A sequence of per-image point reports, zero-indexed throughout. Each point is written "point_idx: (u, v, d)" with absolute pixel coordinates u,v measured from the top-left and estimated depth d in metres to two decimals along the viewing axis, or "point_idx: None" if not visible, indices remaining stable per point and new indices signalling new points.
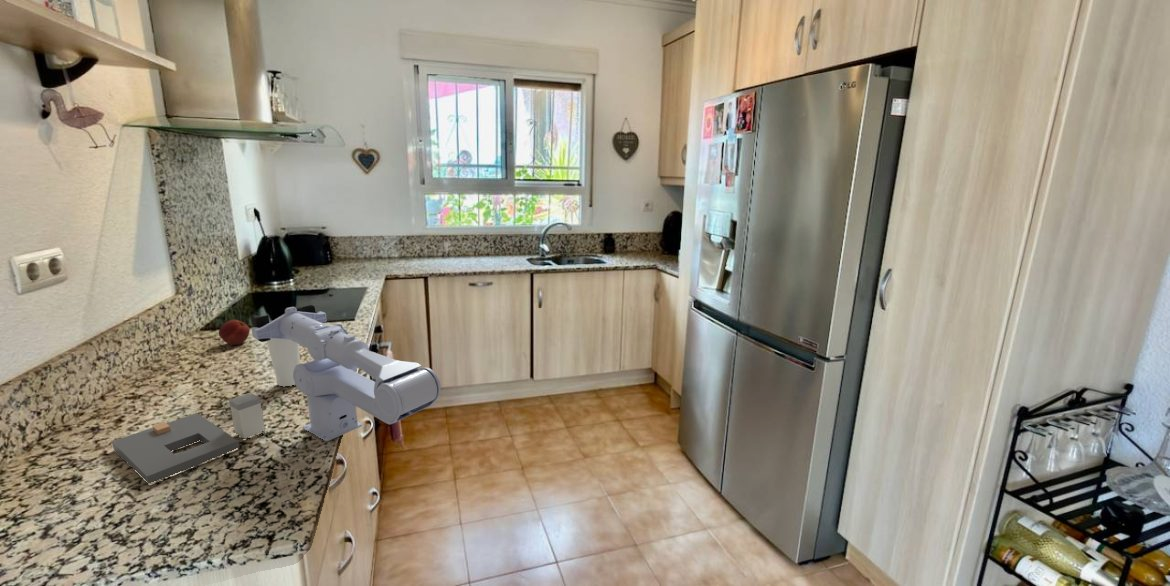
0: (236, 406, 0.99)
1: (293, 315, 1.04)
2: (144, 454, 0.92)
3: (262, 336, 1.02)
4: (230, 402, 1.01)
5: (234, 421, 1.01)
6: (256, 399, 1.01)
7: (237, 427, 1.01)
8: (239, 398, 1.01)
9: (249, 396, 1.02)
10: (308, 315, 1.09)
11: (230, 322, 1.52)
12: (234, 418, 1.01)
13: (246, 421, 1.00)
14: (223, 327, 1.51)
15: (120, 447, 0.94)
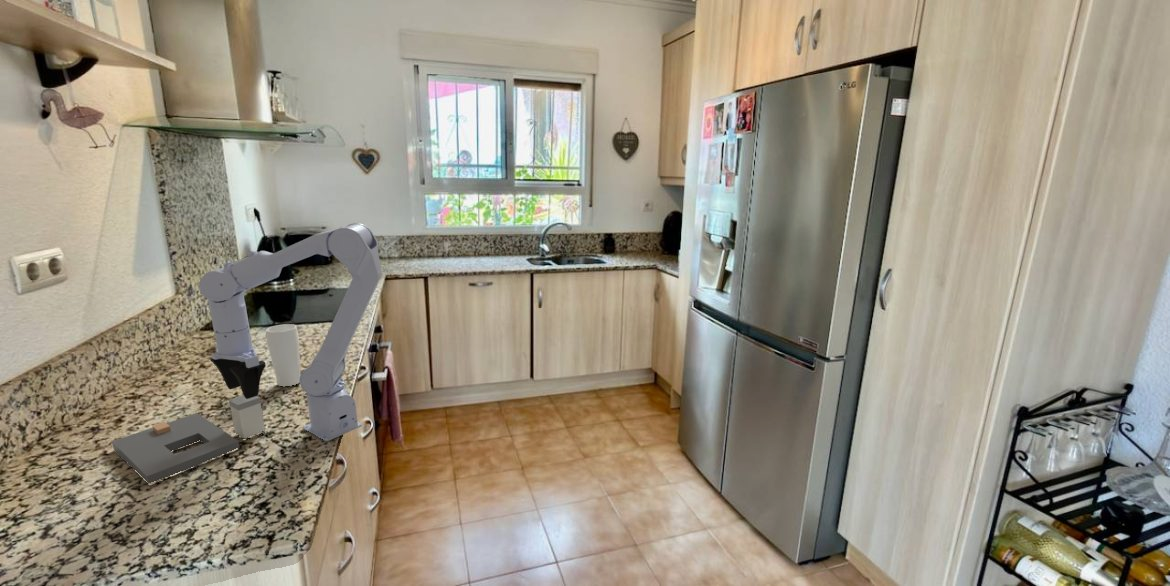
0: (236, 406, 0.99)
1: (218, 347, 0.96)
2: (144, 454, 0.92)
3: (254, 356, 0.96)
4: (230, 402, 1.01)
5: (234, 421, 1.01)
6: (256, 399, 1.01)
7: (237, 427, 1.01)
8: (239, 398, 1.01)
9: None
10: None
11: None
12: (234, 418, 1.01)
13: (246, 421, 1.00)
14: None
15: (120, 447, 0.94)
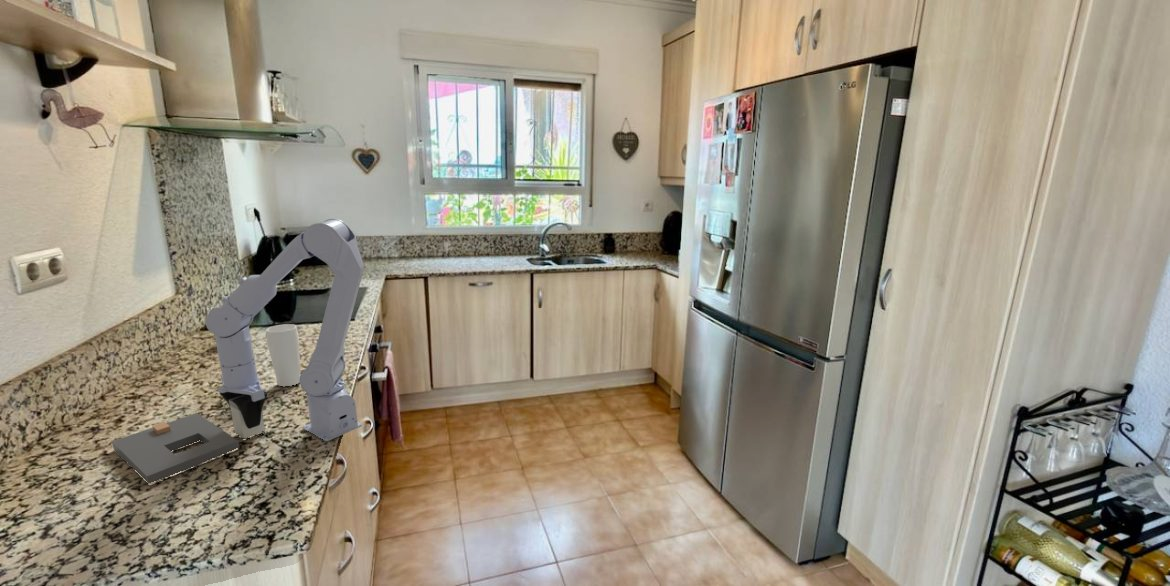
0: (236, 406, 0.99)
1: (225, 380, 0.98)
2: (144, 454, 0.92)
3: (259, 389, 0.98)
4: (230, 402, 1.01)
5: (234, 421, 1.01)
6: None
7: (237, 426, 1.01)
8: None
9: None
10: None
11: None
12: (234, 418, 1.01)
13: None
14: None
15: (120, 447, 0.94)
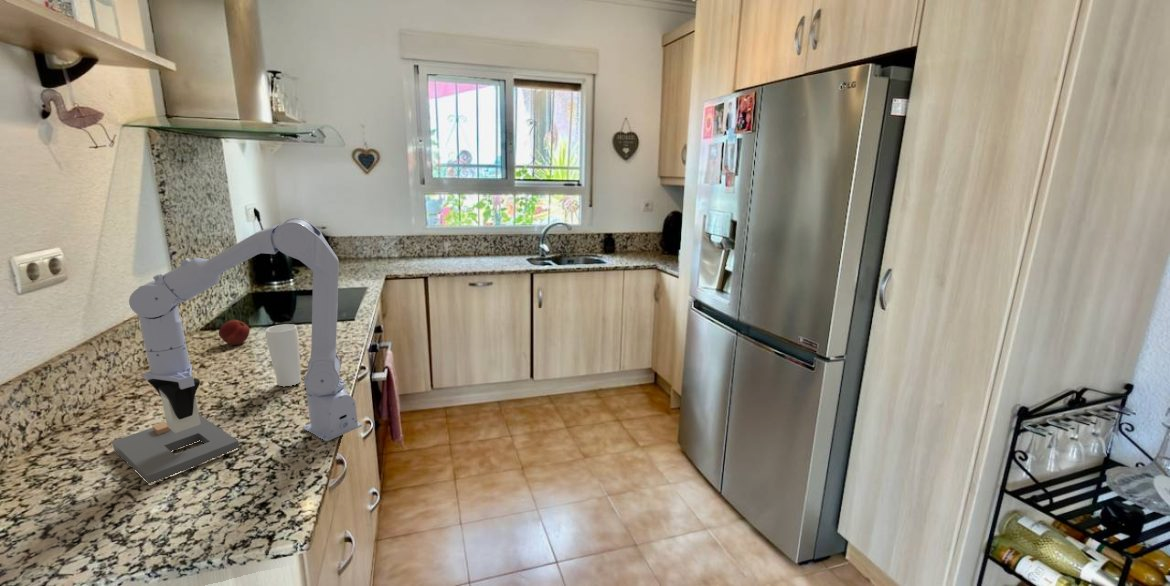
0: (165, 395, 0.91)
1: (151, 366, 0.89)
2: (144, 454, 0.92)
3: (189, 376, 0.89)
4: (160, 391, 0.92)
5: (165, 411, 0.93)
6: None
7: (168, 417, 0.93)
8: None
9: None
10: None
11: (230, 322, 1.52)
12: (165, 408, 0.93)
13: None
14: (223, 327, 1.51)
15: (120, 447, 0.94)
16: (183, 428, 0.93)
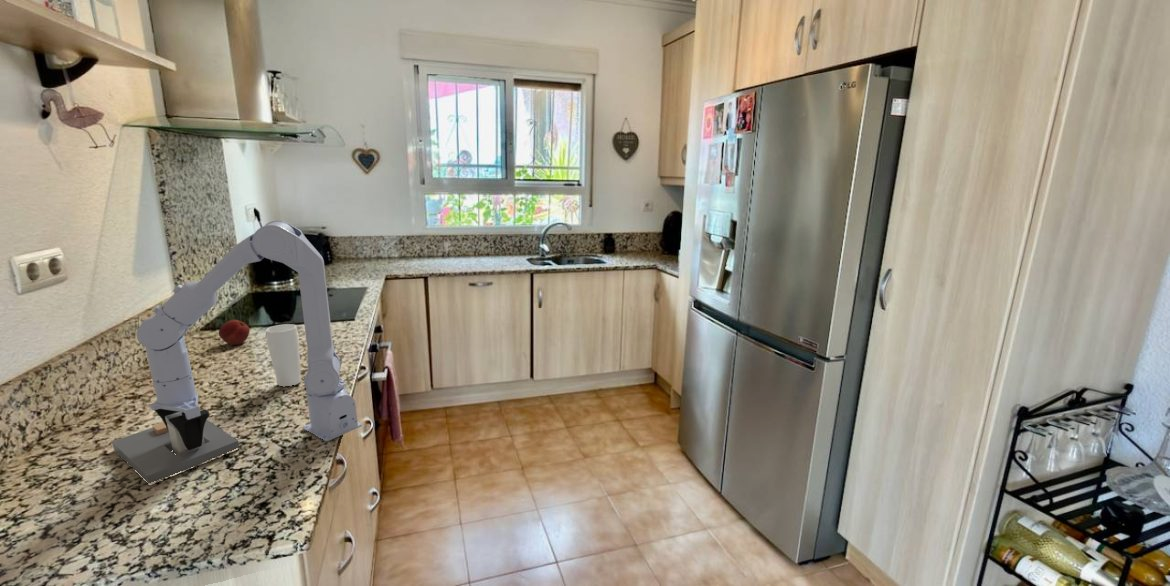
0: None
1: (157, 397, 0.91)
2: (144, 454, 0.92)
3: (195, 406, 0.91)
4: (166, 419, 0.94)
5: (172, 439, 0.95)
6: None
7: (174, 445, 0.94)
8: (177, 414, 0.95)
9: None
10: None
11: (230, 322, 1.52)
12: (171, 436, 0.94)
13: None
14: (223, 327, 1.51)
15: (120, 447, 0.94)
16: None
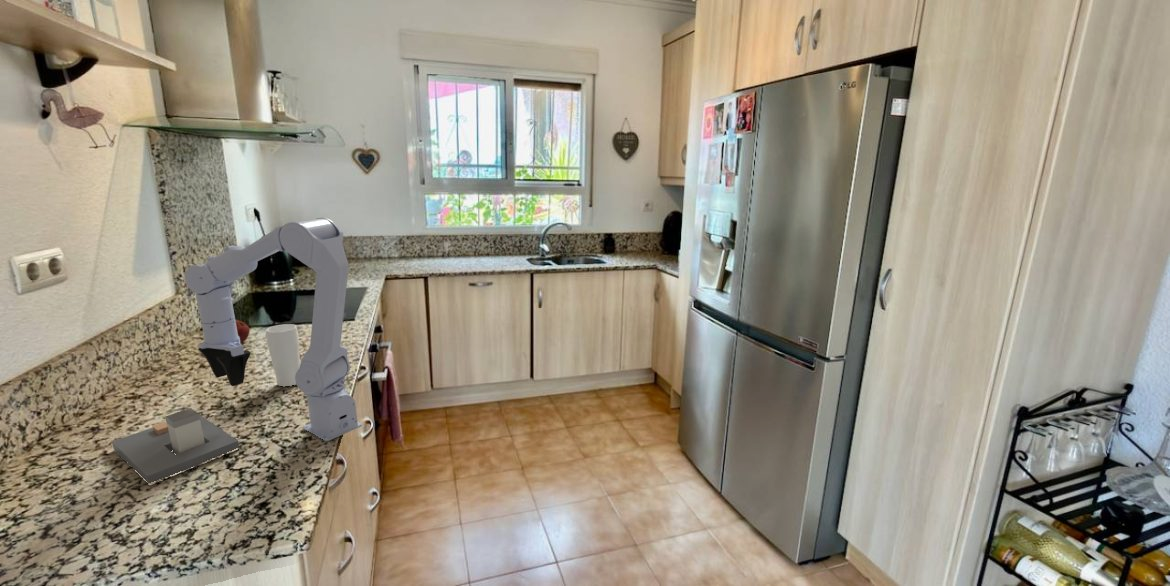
0: (172, 423, 0.92)
1: (205, 337, 1.02)
2: (144, 454, 0.92)
3: (239, 345, 1.02)
4: (166, 419, 0.94)
5: (172, 439, 0.95)
6: (195, 415, 0.95)
7: (174, 445, 0.94)
8: (177, 414, 0.95)
9: (188, 412, 0.96)
10: None
11: None
12: (171, 436, 0.94)
13: (183, 440, 0.94)
14: None
15: (120, 447, 0.94)
16: None
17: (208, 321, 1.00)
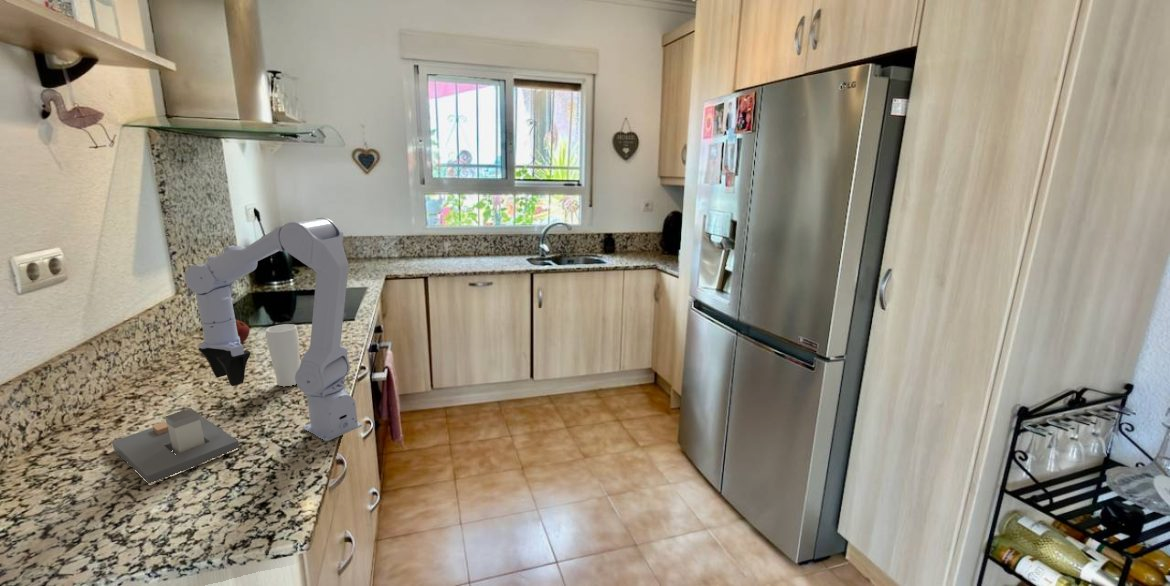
0: (172, 423, 0.92)
1: (205, 337, 1.02)
2: (144, 454, 0.92)
3: (239, 345, 1.02)
4: (166, 419, 0.94)
5: (172, 439, 0.95)
6: (195, 416, 0.95)
7: (174, 445, 0.94)
8: (177, 414, 0.95)
9: (188, 412, 0.96)
10: None
11: None
12: (171, 436, 0.94)
13: (183, 440, 0.94)
14: None
15: (120, 447, 0.94)
16: None
17: (208, 321, 1.00)
